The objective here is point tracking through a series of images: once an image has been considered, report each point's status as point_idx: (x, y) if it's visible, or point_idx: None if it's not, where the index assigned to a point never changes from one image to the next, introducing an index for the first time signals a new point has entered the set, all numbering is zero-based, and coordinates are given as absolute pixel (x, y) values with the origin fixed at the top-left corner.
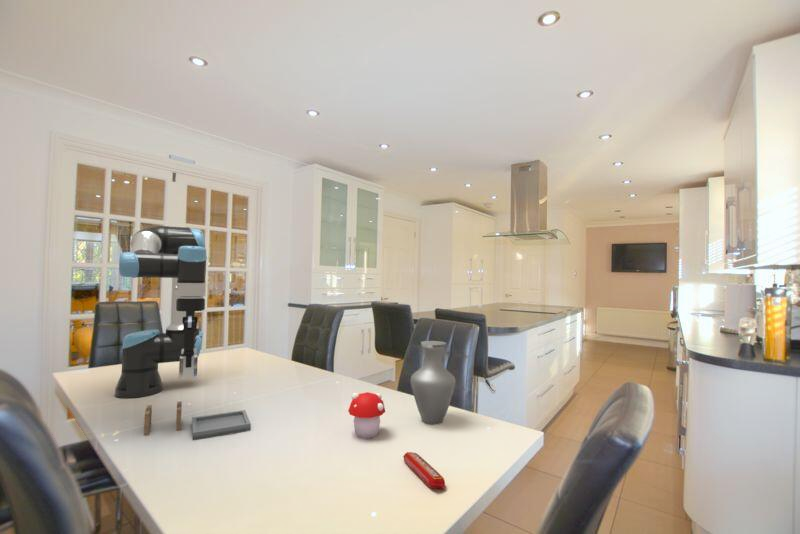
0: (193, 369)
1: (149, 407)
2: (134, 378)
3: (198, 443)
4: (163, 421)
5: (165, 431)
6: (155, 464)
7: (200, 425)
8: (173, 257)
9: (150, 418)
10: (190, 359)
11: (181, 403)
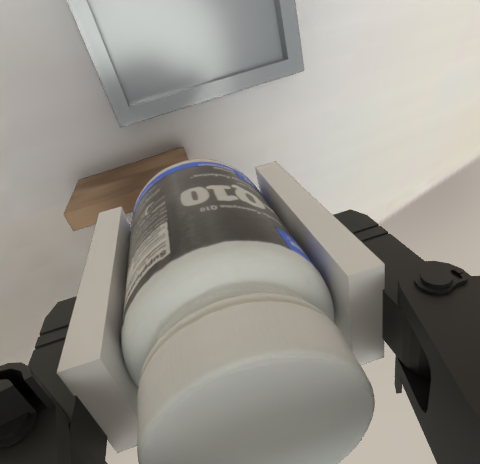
0: (303, 188)
1: None
2: None
3: (327, 37)
4: (84, 240)
5: None
6: (425, 127)
7: (184, 69)
8: None
9: None
10: (411, 257)
11: (100, 202)
